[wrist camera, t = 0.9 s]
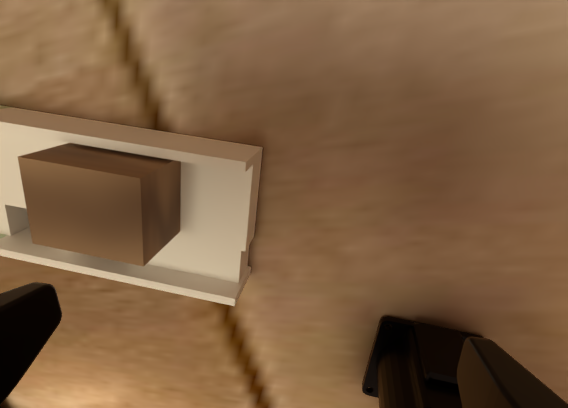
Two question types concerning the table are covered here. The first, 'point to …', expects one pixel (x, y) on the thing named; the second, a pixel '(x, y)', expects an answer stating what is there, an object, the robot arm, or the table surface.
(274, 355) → the table surface
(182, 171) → the tray
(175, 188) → the walnut block
